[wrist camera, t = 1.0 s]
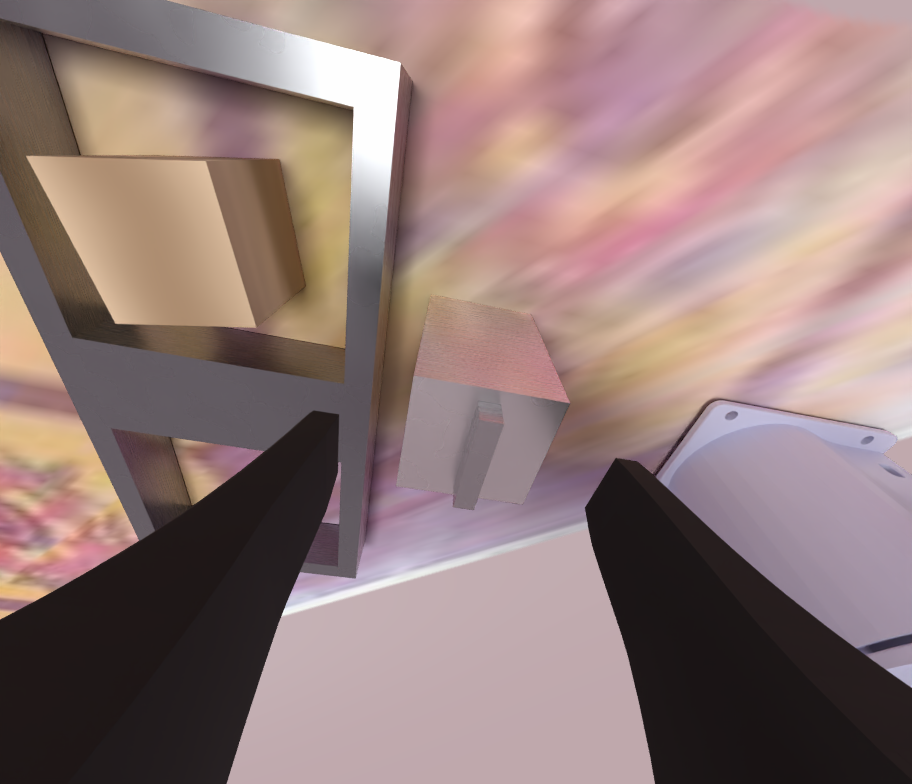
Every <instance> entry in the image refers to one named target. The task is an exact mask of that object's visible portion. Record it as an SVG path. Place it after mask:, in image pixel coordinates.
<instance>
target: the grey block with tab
mask: <svg viewBox="0 0 912 784" xmlns="http://www.w3.org/2000/svg"><path fill="white" fill-rule="evenodd" d="M569 405H570V402H569V399H568V397H567V395H566V393H565V390H564V388H563V386H562V383H561V381H560V379H559V377H558V374H557V372H556V370H555V367H554V365H553V363H552V361H551V358H550V356H549V354H548V351H547V349H546V347H545V345H544V342H543V340H542V338H541V335H540V333H539V331H538V329H537V326H536V324H535V322H534V319H533V317H532V315H531V314H526V313H521V312H516V311H511V310H506V309H501V308H496V307H491V306H486V305H481V304H476V303H471V302H466V301H461V300H456V299H451V298H446V297H441V296H436V295H432V294H431V296H430V301H429V305H428V310H427V315H426V320H425V324H424V329H423V334H422V338H421V343H420V348H419V353H418V357H417V362H416V367H415V372H414V377H413V383H412V389H411V395H410V402H409V408H408V414H407V420H406V427H405V433H404V439H403V445H402V452H401V458H400V464H399V470H398V476H397V483H396V486H398V487H405V488H412V489H419V490H426V491H433V492H440V493H447V494H453V507H455V508H462V509H469V510H474V508H475V505H476V502H477V499H478V498H481V499H488V500H495V501H502V502H509V503H515V504H522V505H523V503H524V501H525V499H526V497H527V494H528V492H529V490H530V488H531V486H532V484H533V482H534V479H535V477H536V475H537V473H538V471H539V469H540V467H541V464H542V462H543V460H544V458H545V456H546V454H547V452H548V450H549V447H550V445H551V443H552V441H553V439H554V437H555V435H556V432H557V430H558V428H559V426H560V424H561V422H562V420H563V417H564V415H565V413H566V411H567V409H568V407H569Z"/></svg>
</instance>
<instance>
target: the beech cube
mask: <svg viewBox="0 0 912 784" xmlns="http://www.w3.org/2000/svg"><path fill="white" fill-rule="evenodd" d="M26 157H27V159H28V161H29V162H30V164H31V166H32V168H33V170H34V172H35V174H36V176H37V177H38V179H39V181H40V183H41V185H42V187H43V189H44V191H45V192H46V194H47V196H48V198H49V200H50V202H51V204H52V206H53V207H54V209H55V211H56V213H57V215H58V217H59V219H60V221H61V222H62V224H63V226H64V228H65V230H66V232H67V234H68V235H69V237H70V239H71V241H72V243H73V245H74V247H75V249H76V250H77V252H78V254H79V256H80V258H81V260H82V262H83V264H84V265H85V267H86V269H87V271H88V273H89V275H90V277H91V279H92V280H93V282H94V284H95V286H96V288H97V290H98V292H99V294H100V295H101V297H102V299H103V301H104V303H105V305H106V307H107V308H108V310H109V312H110V314H111V316H112V318H113V320H114V322H115V323H116V324H143V325H180V326H217V327H253V328H256V327H258V326H259V325H260V324H261V323H262V322H263V321H265V320H266V319H267V318H268V317H269V316H271V315H272V314H273V313H274V312H275V311H276V310H278V309H279V308H280V307H281V306H282V305H283V304H285V303H286V302H287V301H288V300H289V299H290V298H292V297H293V296H294V295H295V294H296V293H298V292H299V291H300V290H301V289H302V288H303V287H305V286H306V285H305V280H304V275H303V271H302V266H301V261H300V256H299V251H298V247H297V242H296V237H295V232H294V227H293V223H292V218H291V213H290V208H289V203H288V199H287V194H286V189H285V184H284V179H283V175H282V170H281V165H280V160H279V159H260V158H226V157H193V156H160V155H89V156H26Z"/></svg>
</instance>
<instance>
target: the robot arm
mask: <svg viewBox="0 0 912 784" xmlns="http://www.w3.org/2000/svg"><path fill="white" fill-rule="evenodd" d="M729 412H730V413H729ZM728 413H729V414H728ZM726 414H727V415H726ZM338 442H339V414H334V413H328V412H321V411H315V410H313V411H312V412H310V413H309V414H308V415H306V416H305V417H304V418H303V419H302V420H301V421H300V422H299V423H297V424H296V425H295V426H294V427H293V428H292V429H291V430H289V431H288V432H287V433H286V434H285V435H284V436H283V437H281V438H280V439H279V440H278V441H277V442H275V443H274V444H273V445H272V446H271V447H270V448H268V449H267V450H266V451H265V452H263V453H262V454H261V455H260V456H258V457H257V458H256V459H255V460H253V461H252V462H251V463H250V464H248V465H247V466H246V467H245V468H243V469H242V470H241V471H240V472H238V473H237V474H236V475H234V476H233V477H232V478H230V479H229V480H228V481H226V482H225V483H224V484H222V485H221V486H219V487H218V488H217V489H215V490H214V491H213V492H211V493H210V494H209V495H207V496H206V497H204V498H203V499H202V500H200V501H199V502H197V503H196V504H195V505H193V506H192V507H190V508H189V509H187V510H186V511H184V512H183V513H181V514H180V515H179V516H177V517H176V518H174V519H173V520H171V521H170V522H168V523H167V524H165V525H163V526H162V527H160V528H159V529H157V530H156V531H154V532H152V533H151V534H149V535H148V536H146V537H145V538H143V539H142V540H140V541H138V542H137V543H135V544H133V545H132V546H130V547H128V548H127V549H125V550H123V551H122V552H120V553H118V554H117V555H115V556H113V557H112V558H110V559H108V560H107V561H105V562H103V563H102V564H100V565H98V566H97V567H95V568H93V569H92V570H90V571H88V572H86V573H85V574H83V575H81V576H80V577H78V578H76V579H74V580H72V581H71V582H69V583H67V584H65V585H64V586H62V587H60V588H58V589H57V590H55V591H53V592H51V593H49V594H48V595H46V596H44V597H42V598H40V599H38V600H36V601H35V602H33V603H31V604H29V605H27V606H25V607H23V608H21V609H19V610H17V611H16V612H14V613H12V614H10V615H8V616H6V617H4V618H2V619H0V784H226V783H227V780H228V777H229V774H230V771H231V767H232V764H233V761H234V758H235V755H236V751H237V748H238V745H239V741H240V739H241V735H242V732H243V729H244V726H245V723H246V719H247V717H248V714H249V710H250V707H251V704H252V701H253V698H254V695H255V692H256V689H257V686H258V682H259V680H260V677H261V674H262V671H263V668H264V665H265V662H266V659H267V656H268V652H269V650H270V647H271V644H272V641H273V638H274V634H275V632H276V629H277V626H278V623H279V621H280V618H281V616H282V613H283V610H284V608H285V605H286V603H287V600H288V598H289V596H290V593H291V591H292V589H293V587H294V584H295V582H296V580H297V577H298V575H299V573H300V570H301V568H302V566H303V563H304V561H305V559H306V557H307V554H308V552H309V550H310V547H311V545H312V543H313V540H314V538H315V536H316V533H317V531H318V529H319V526H320V524H321V522H322V519H323V517H324V515H325V512H326V510H327V506H328V503H329V500H330V497H331V494H332V490H333V487H334V484H335V480H336V477H337V473H338ZM896 442H897V436H895V435H894V434H892V433H891V432H889V431H886V430H880V429H875V428H869V427H864V426H859V425H853V424H848V423H843V422H837V421H832V420H826V419H821V418H816V417H810V416H805V415H800V414H794V413H789V412H783V411H778V410H773V409H767V408H762V407H757V406H751V405H746V404H740V403H735V402H730V401H724V400H718V401H715V402H713V403H711V404H709V405H708V406H707V408H706V409H705V410H704V412H703V413H702V414H701V416H700V417H699V419H698V420H697V421H696V423H695V424H694V425H693V427H692V428H691V429H690V431H689V432H688V433H687V435H686V436H685V438H684V439H683V440H682V442H681V443H680V444H679V446H678V447H677V448H676V450H675V451H674V453H673V454H672V455H671V457H670V458H669V459H668V461H667V462H666V463H665V465H664V466H663V468H662V469H661V470H660V472H659V473H658V474H657V476H656V477H655V476H654V475H653V474H651V473H650V472H649V471H648V470H647V469H646V468H645V467H643V466H642V465H641V464H640V463H638V462H637V461H631V460H624V459H618V458H616V459H615V460H614V462H613V463H612V465H611V467H610V468H609V470H608V472H607V473H606V475H605V476H604V478H603V480H602V481H601V483H600V484H599V486H598V488H597V489H596V491H595V492H594V494H593V496H592V497H591V499H590V500H589V502H588V504H587V505H586V507H585V511H586V517H587V522H588V528H589V533H590V537H591V542H592V546H593V550H594V553H595V556H596V559H597V562H598V565H599V568H600V571H601V575H602V578H603V580H604V584H605V587H606V590H607V592H608V596H609V598H610V601H611V605H612V607H613V611H614V614H615V616H616V620H617V623H618V626H619V628H620V631H621V635H622V638H623V641H624V644H625V648H626V651H627V655H628V658H629V662H630V666H631V671H632V675H633V679H634V683H635V688H636V692H637V696H638V700H639V705H640V709H641V714H642V719H643V724H644V729H645V733H646V738H647V743H648V748H649V753H650V757H651V763H652V769H653V775H654V780H655V784H912V474H910V473H909V472H908V471H906V470H905V469H903V468H902V467H901V466H899V465H898V464H896V463H895V462H893V461H892V460H891V459H889V458H888V457H886V456H885V455H884V453H885V452H886V451H887V450H889V449H890V448H891V447H892V446H893V445H894V444H895V443H896Z"/></svg>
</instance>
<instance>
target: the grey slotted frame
mask: <svg viewBox="0 0 912 784" xmlns="http://www.w3.org/2000/svg"><path fill="white" fill-rule="evenodd" d="M41 33H44V34H48V35H52V36H56V37H60V38H64V39H68V40H72V41H76V42H80V43H84V44H88V45H92V46H96V47H100V48H104V49H108V50H112V51H116V52H120V53H124V54H128V55H132V56H136V57H140V58H144V59H148V60H152V61H156V62H160V63H164V64H168V65H172V66H176V67H180V68H184V69H188V70H192V71H196V72H200V73H204V74H209V75H213V76H217V77H221V78H225V79H229V80H233V81H237V82H241V83H245V84H249V85H253V86H257V87H261V88H265V89H269V90H273V91H277V92H281V93H285V94H289V95H293V96H297V97H301V98H305V99H309V100H313V101H317V102H321V103H325V104H329V105H333V106H337V107H341V108H345V109H349V110H353V111H354V120H353V148H352V177H351V205H350V234H349V262H348V291H347V320H346V348H345V349H341V348H336V347H330V346H325V345H319V344H314V343H308V342H303V341H297V340H291V339H286V338H280V337H275V336H269V335H264V334H258V333H253V332H247V331H242V330H236V329H230V328H225V327H217V326H180V325H143V324H116V323H115V322H114V320H113V318H112V316H111V314H110V312H109V310H108V308H107V307H106V305H105V303H104V301H103V299H102V297H101V295H100V294H99V292H98V290H97V288H96V286H95V284H94V282H93V280H92V279H91V277H90V275H89V273H88V271H87V269H86V267H85V265H84V264H83V262H82V260H81V258H80V256H79V254H78V252H77V250H76V249H75V247H74V245H73V243H72V241H71V239H70V237H69V235H68V234H67V232H66V230H65V228H64V226H63V224H62V222H61V221H60V219H59V217H58V215H57V213H56V211H55V209H54V207H53V206H52V204H51V202H50V200H49V198H48V196H47V194H46V192H45V191H44V189H43V187H42V185H41V183H40V181H39V179H38V177H37V176H36V174H35V172H34V170H33V168H32V166H31V164H30V162H29V161H28V159H27V157H26V156H80V154H79V151H78V148H77V144H76V141H75V138H74V135H73V132H72V129H71V126H70V122H69V119H68V116H67V113H66V110H65V107H64V104H63V100H62V97H61V94H60V91H59V88H58V85H57V82H56V78H55V75H54V72H53V69H52V66H51V63H50V60H49V56H48V53H47V50H46V47H45V44H44V41H43V38H42V34H41ZM412 82H413V81H412V80H411V78H410V77H409V75H408V74H407V72H406V70H405V69H404V67H403V66H402V64H401V63H399V62H396V61H392V60H388V59H384V58H381V57H377V56H373V55H369V54H366V53H362V52H358V51H354V50H351V49H347V48H343V47H339V46H336V45H332V44H328V43H324V42H321V41H317V40H313V39H309V38H306V37H302V36H298V35H294V34H290V33H287V32H283V31H279V30H275V29H272V28H268V27H264V26H260V25H257V24H253V23H249V22H245V21H242V20H238V19H234V18H230V17H227V16H223V15H219V14H215V13H212V12H208V11H204V10H200V9H197V8H193V7H189V6H185V5H182V4H178V3H174V2H170V1H167V0H0V252H1V254H2V256H3V258H4V260H5V262H6V265H7V267H8V269H9V271H10V273H11V275H12V277H13V279H14V281H15V283H16V285H17V287H18V290H19V292H20V294H21V296H22V298H23V300H24V302H25V304H26V306H27V308H28V310H29V312H30V314H31V317H32V319H33V321H34V323H35V325H36V327H37V329H38V331H39V333H40V335H41V337H42V339H43V341H44V344H45V346H46V348H47V350H48V352H49V354H50V356H51V358H52V360H53V362H54V364H55V366H56V368H57V371H58V373H59V375H60V377H61V379H62V381H63V383H64V385H65V387H66V389H67V391H68V393H69V395H70V398H71V400H72V402H73V404H74V406H75V408H76V410H77V412H78V414H79V416H80V418H81V420H82V422H83V425H84V427H85V429H86V431H87V433H88V435H89V437H90V439H91V441H92V443H93V445H94V447H95V449H96V452H97V454H98V456H99V458H100V460H101V462H102V464H103V466H104V468H105V470H106V472H107V474H108V476H109V479H110V481H111V483H112V485H113V487H114V489H115V491H116V493H117V495H118V497H119V499H120V501H121V503H122V506H123V508H124V510H125V512H126V514H127V516H128V518H129V520H130V522H131V524H132V526H133V528H134V530H135V533H136V535H137V537H138V539H139V541H140V540H142V539H143V538H145V537H146V536H148V535H149V534H151V533H152V532H154V531H156V530H157V529H159V528H160V527H162V526H163V525H165V524H167V523H168V522H170V521H171V520H173V519H174V518H176V517H177V516H179V515H180V514H181V513H183V512H184V511H186V510H187V509H189V508H190V507H192V506H191V503H190V500H189V497H188V494H187V490H186V487H185V484H184V481H183V478H182V475H181V471H180V468H179V465H178V462H177V459H176V456H175V453H174V449H173V446H172V443H171V440H170V437H173V438H180V439H187V440H193V441H200V442H207V443H214V444H220V445H227V446H234V447H241V448H247V449H254V450H261V451H266V450H267V449H268V448H270V447H271V446H272V445H273V444H274V443H275V442H277V441H278V440H279V439H280V438H281V437H283V436H284V435H285V434H286V433H287V432H288V431H289V430H291V429H292V428H293V427H294V426H295V425H296V424H297V423H299V422H300V421H301V420H302V419H303V418H304V417H305V416H306V415H308V414H309V413H310V412H312V411H313V410H315V411H321V412H328V413H334V414H339V442H338V462H342V463H341V491H340V520H339V525H333V524H326V523H321V524H320V526H319V529H318V531H317V533H316V536H315V538H314V540H313V543H312V545H311V547H310V550H309V552H308V554H307V557H306V559H305V561H304V563H303V566H302V568H301V570H300V572H304V573H313V574H321V575H330V576H339V577H347V578H356V575H357V571H358V567H359V562H360V558H361V554H362V550H363V546H364V542H365V537H366V527H367V518H368V508H369V498H370V489H371V479H372V469H373V460H374V450H375V440H376V431H377V421H378V411H379V402H380V392H381V382H382V372H383V363H384V353H385V343H386V334H387V324H388V314H389V305H390V295H391V285H392V276H393V266H394V256H395V247H396V237H397V227H398V218H399V208H400V198H401V188H402V179H403V169H404V159H405V150H406V140H407V130H408V121H409V111H410V101H411V92H412Z"/></svg>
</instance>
